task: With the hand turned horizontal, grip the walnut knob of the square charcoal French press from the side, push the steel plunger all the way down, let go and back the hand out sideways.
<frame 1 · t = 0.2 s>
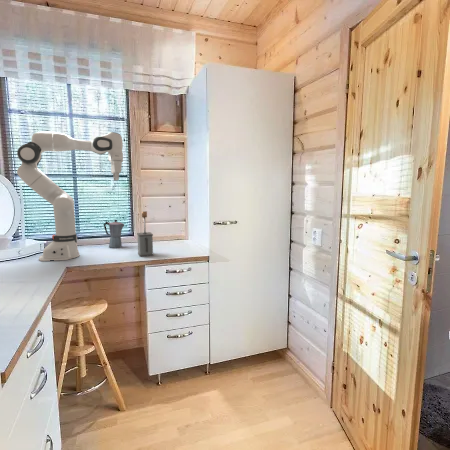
hand: (116, 180, 201), 48 cm above the table, tool pointing down, fingers open, 8 cm apart
moka pot: (114, 247, 224), on the table
press: (145, 254, 202), on the table
plunger: (144, 226, 200), point 19 cm above the table, slide at 7.0 cm
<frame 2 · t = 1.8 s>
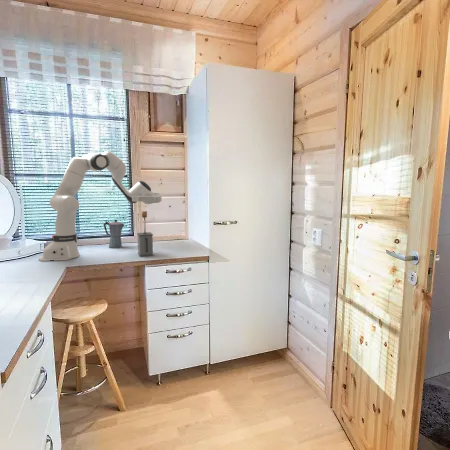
hand: (145, 199, 211), 35 cm above the table, tool horizontal, fingers open, 8 cm apart
nothing on the table moved.
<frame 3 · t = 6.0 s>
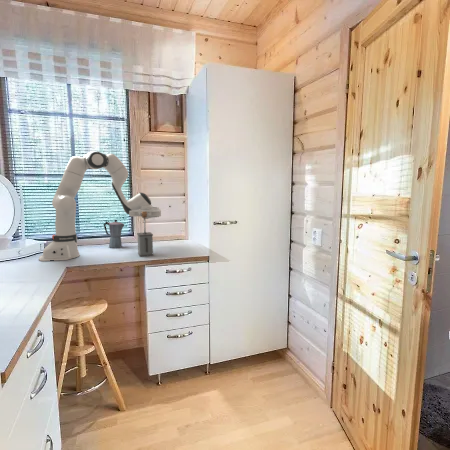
hand: (144, 214, 198), 26 cm above the table, tool horizontal, fingers closed on plunger, 3 cm apart
plunger: (144, 226, 200), point 18 cm above the table, slide at 7.0 cm, touching gripper
everything else where it was.
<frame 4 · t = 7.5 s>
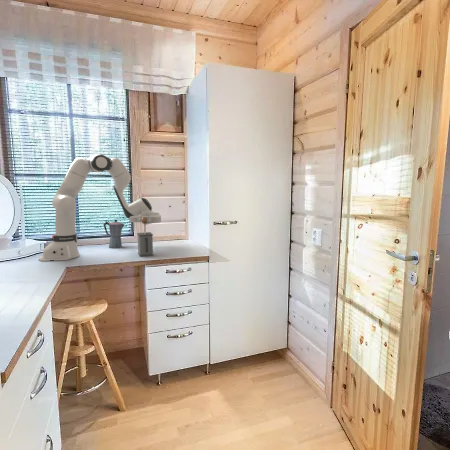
hand: (144, 220, 198), 23 cm above the table, tool horizontal, fingers closed on plunger, 3 cm apart
plunger: (144, 232, 200), point 15 cm above the table, slide at 3.2 cm, touching gripper
everything else where it was.
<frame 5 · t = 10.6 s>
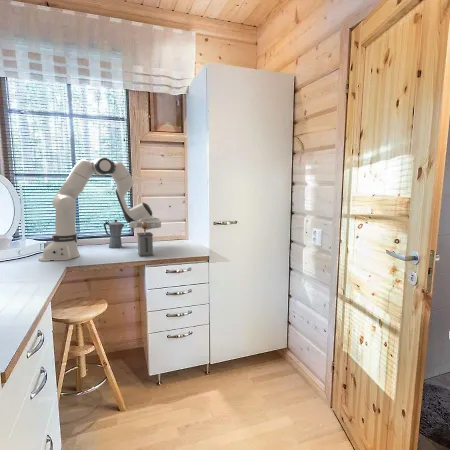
hand: (144, 226, 199), 19 cm above the table, tool horizontal, fingers open, 8 cm apart
plunger: (145, 237, 201), point 11 cm above the table, slide at -0.1 cm
everything else where it was.
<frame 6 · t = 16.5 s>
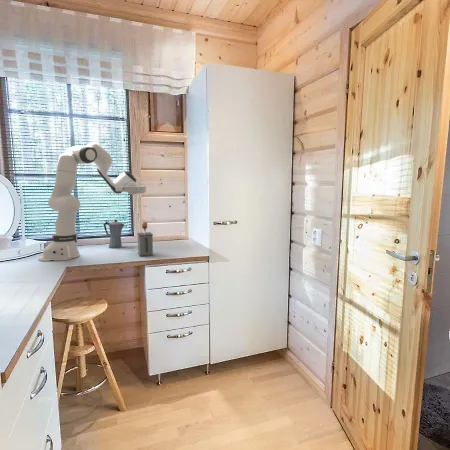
hand: (129, 189, 210), 42 cm above the table, tool horizontal, fingers open, 8 cm apart
nothing on the table moved.
at the end: plunger slide at -0.1 cm; the gripper is holding nothing; moka pot moved 0.2 cm from its start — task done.
